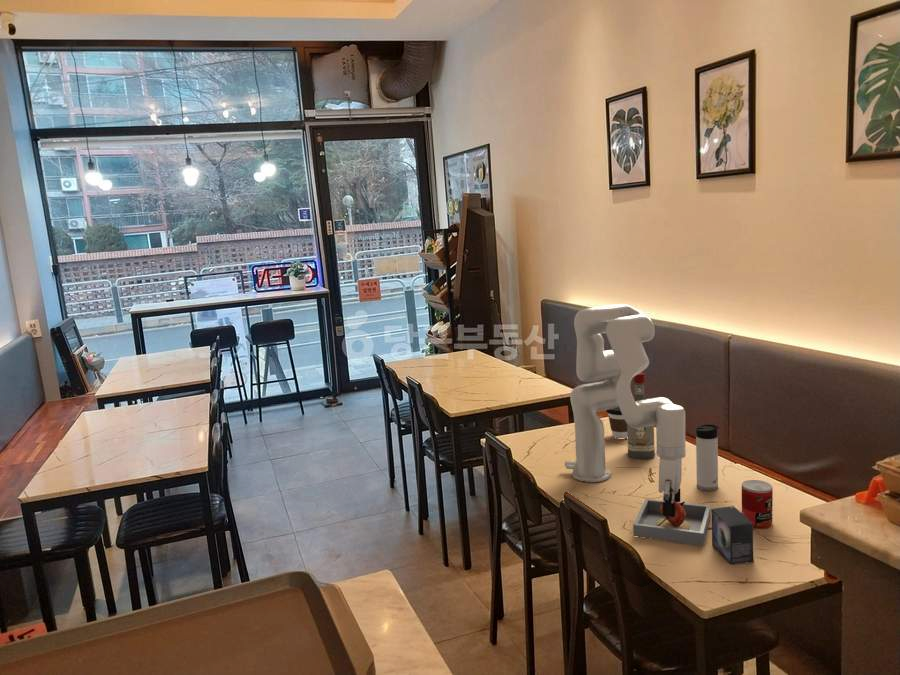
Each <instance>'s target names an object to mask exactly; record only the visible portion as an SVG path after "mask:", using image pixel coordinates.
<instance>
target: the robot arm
mask: <svg viewBox="0 0 900 675" xmlns="http://www.w3.org/2000/svg"><path fill="white" fill-rule="evenodd" d="M573 325H574V326H573V327H574V331H575V335H576V364H575V365H576V366H575V367H576V368H575V370H576V372H575V373H576V376H577V378H578V380H579V381H580V382H583V383H584V384H581V385H577V386H575V387H574V388H573V389H572V390H571V392H570V396H569V397H570V398H569V400H570V404H571V408H572V412H573V421H574V438H575V456H576V457H575V458H576V459H575V460H574V461H571V460H565V461H564V467H565V468H566V469H568V470H572V472H571V474H572V477H573V479H575V480H577V481H579V480H580V482H583V481H585V482H586V483H599V482H604V481H606V480H608V479H610V478H611V471H610V470H609V469H608V468H606V448H605V447H606V445H605V426H604V422H603V421H602V419H601V418H600V417H599V415H598V414H597V413H598V412H601V411H606V410H608V409H613V408H617V407H619V408H620V410H621V413H622V415H623V417H624V419H625V421H626V423H627V424H628V425H629V426H630V427H632V428H643V427H648V426H653V425H654V426H655V428H656V431H655V434H656V456H657V457H659V466H658V492H659V493H663V495H662V496H663V497H662V501H663V516H670V517H675V502H680V503H681V488H680V487H681V485H682V475H683V474H682V473H683V471H682V470H683V468H682V460H683V459H684V458H685V457H686V450H687V449H686V411H685V408H684V407H683V406H681V405H678V404H675V403H673V402H672V400H670V399H669V398H667V397H664V396H658V397H651V398H645V400H639V401H635V397H634V396H633V393H632V389H631V383H632V380H633V379H634V376H636V375H637V374H639V373H640V372H641V373H643V371H644V370H646V369H647V368H648V367H649V364H650V360H649V357H648V355H647V353H646V350H645V348H644V345H643V343H647V342H650V341H652V340H653V339H654V337H655V333H656V328H655V324H654V322H653V321H652V319H651V317H650V316H648V315H647V314H646V313H645V312H644V311H643V312H642V310H639V309H637V308H635V307H633V306H631V305H630V304H626V303H617V304H609V305H600V306H593V307H587V308H583V309H580V310H579V311H578V312H576V314H575V317H574V320H573ZM603 334H605V335H606V337H607V340H608V342H609V344H610V347H611V349H606V350H605V340H604V338H603V336H602V335H603ZM585 482H584V483H585ZM674 501H675V502H674Z"/></svg>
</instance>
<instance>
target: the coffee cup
mask: <svg viewBox="0 0 900 675" xmlns="http://www.w3.org/2000/svg"><path fill="white" fill-rule="evenodd" d="M605 411H606V413H607V414H608V421H609V427H610V430H611V433H612V436H614V437H616V438H627V423H626V421H625V419H624V417H623V415H622V413H621V410H620V408H619V407H617V408H613V409H608V410H605ZM614 437H613V438H614ZM616 438H615V439H616Z"/></svg>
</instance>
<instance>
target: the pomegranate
mask: <svg viewBox="0 0 900 675" xmlns="http://www.w3.org/2000/svg"><path fill="white" fill-rule="evenodd" d="M674 502H675V501H674ZM684 503H686V502H685V501H682V502H680V503H677V502H675V517H670V516H666V517H665V516H664V517H665V519H664V520H663V521H662V522H661V523H660V524H659V525H661V524H662V523H663V522H664V521H665V520H668V521H669V522H670V523H672V525H673V526H674V527H677V526H679V525H681V524H682V523H683V522H684V520H685V518H686V513H685V510H684V509H683V504H684ZM660 512H661V513H662V514H663V504H662V505H661V507H660ZM659 525H657V526H659Z"/></svg>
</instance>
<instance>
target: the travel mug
mask: <svg viewBox="0 0 900 675" xmlns="http://www.w3.org/2000/svg"><path fill="white" fill-rule="evenodd" d="M719 427H720V426H719V425H718V424H709V423H707V424H702V425H701V424H700V425H698V426H696V428H695V433H696V434H695V449H696V450H695V451H696V452H695V455H696V456H695V458H696V460H695V461H696V487H697V489H699V490H701V491H705V492H706V491H707V492H710V491H711V492H712V491H715V490H718V488H719V459H718V457H719V455H718V454H719V450H718V448H719V447H718V446H719V444H718V442H719V440H718V438H719V437H718V429H720V428H719Z"/></svg>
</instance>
